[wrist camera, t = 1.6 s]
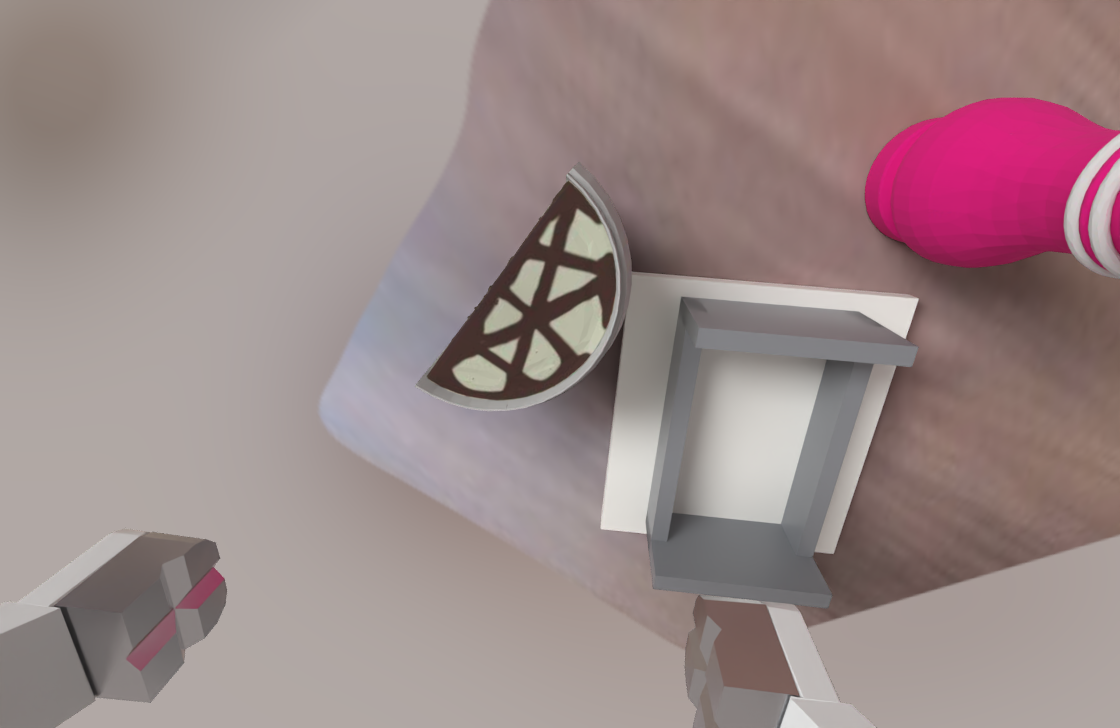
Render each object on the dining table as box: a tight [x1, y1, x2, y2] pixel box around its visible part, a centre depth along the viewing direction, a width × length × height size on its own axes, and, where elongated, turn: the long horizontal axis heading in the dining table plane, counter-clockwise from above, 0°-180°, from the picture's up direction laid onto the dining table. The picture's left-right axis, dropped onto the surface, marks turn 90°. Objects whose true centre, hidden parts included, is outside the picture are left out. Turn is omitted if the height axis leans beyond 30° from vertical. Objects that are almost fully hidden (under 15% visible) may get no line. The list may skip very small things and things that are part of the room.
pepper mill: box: [865, 98, 1120, 279], centre depth 18 cm, size 7×7×20 cm
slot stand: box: [601, 272, 919, 608], centre depth 30 cm, size 16×18×7 cm
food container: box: [415, 162, 632, 411], centre depth 26 cm, size 12×6×10 cm, turn 143°
